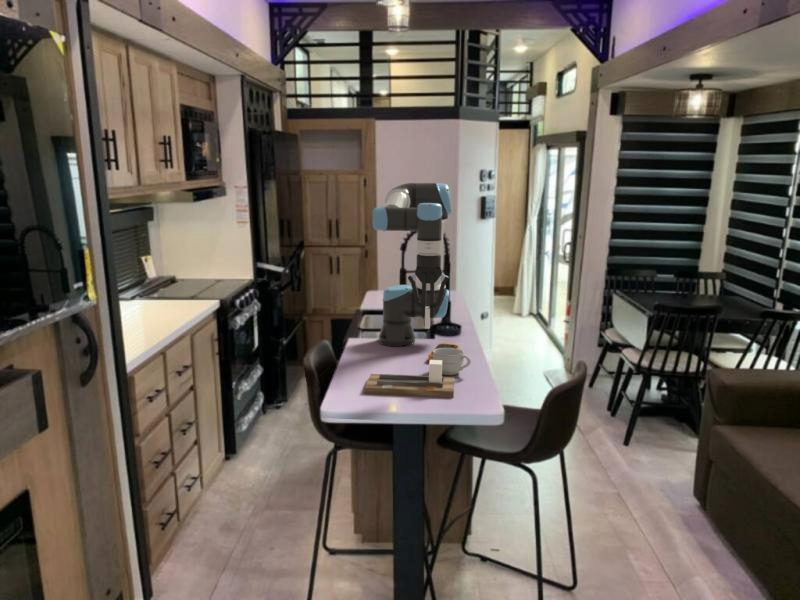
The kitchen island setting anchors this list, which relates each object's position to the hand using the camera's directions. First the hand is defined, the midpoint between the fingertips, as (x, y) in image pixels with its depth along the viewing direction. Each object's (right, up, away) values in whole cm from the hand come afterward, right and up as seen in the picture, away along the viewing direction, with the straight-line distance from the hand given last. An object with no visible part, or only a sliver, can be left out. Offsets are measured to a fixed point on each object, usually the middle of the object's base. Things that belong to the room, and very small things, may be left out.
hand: (427, 327), depth 186 cm
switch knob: (+3, -18, +3) cm, 18 cm away
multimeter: (+8, -13, +37) cm, 41 cm away
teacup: (+9, -17, +18) cm, 27 cm away
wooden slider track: (-5, -20, +4) cm, 21 cm away
